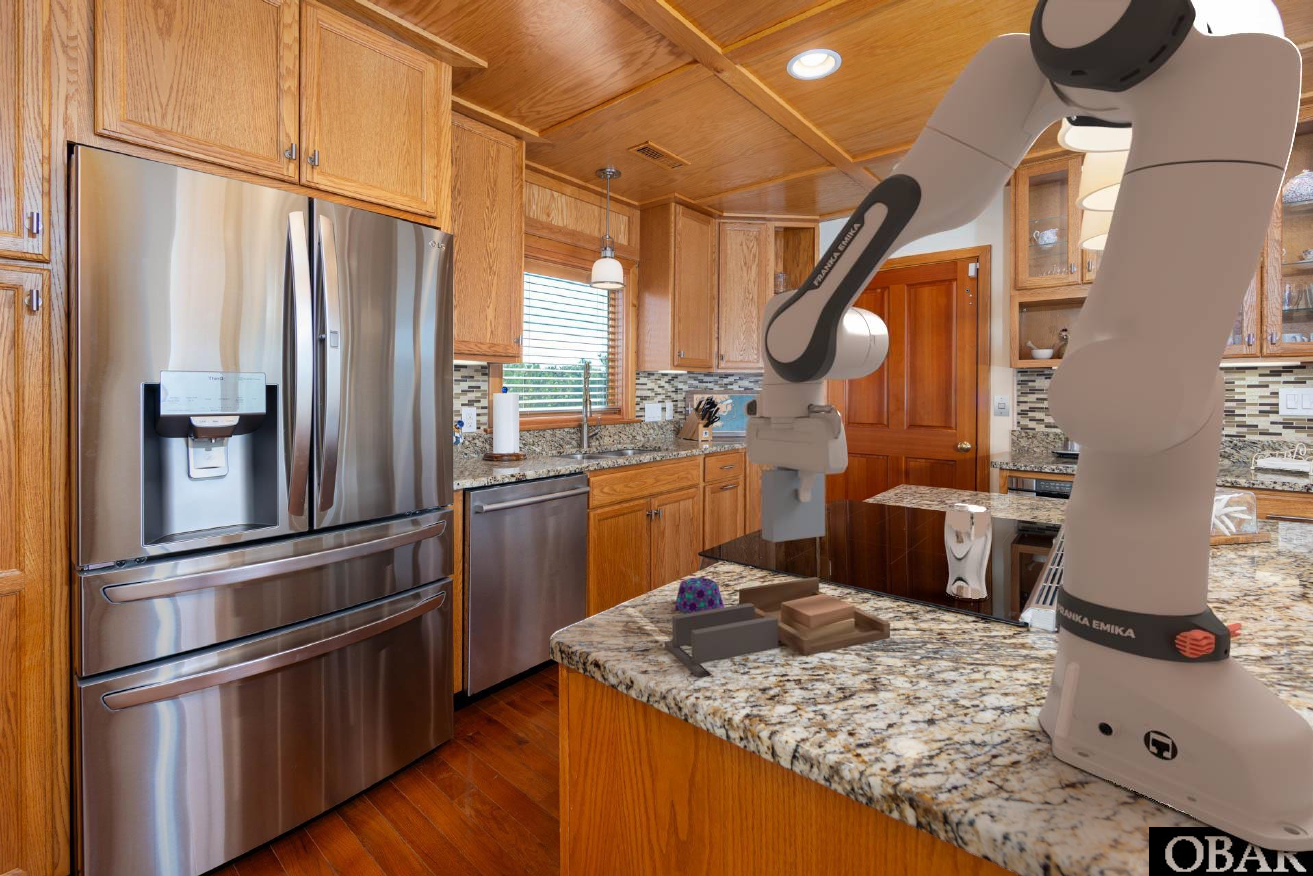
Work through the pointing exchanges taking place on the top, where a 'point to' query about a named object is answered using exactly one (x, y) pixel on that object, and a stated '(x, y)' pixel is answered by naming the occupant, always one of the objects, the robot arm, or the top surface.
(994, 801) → the top surface
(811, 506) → the gray rectangular block
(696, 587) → the purple rounded dome
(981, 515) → the beer glass
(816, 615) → the offcut top
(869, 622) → the tray
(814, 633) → the offcut low
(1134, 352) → the robot arm
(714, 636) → the holder
